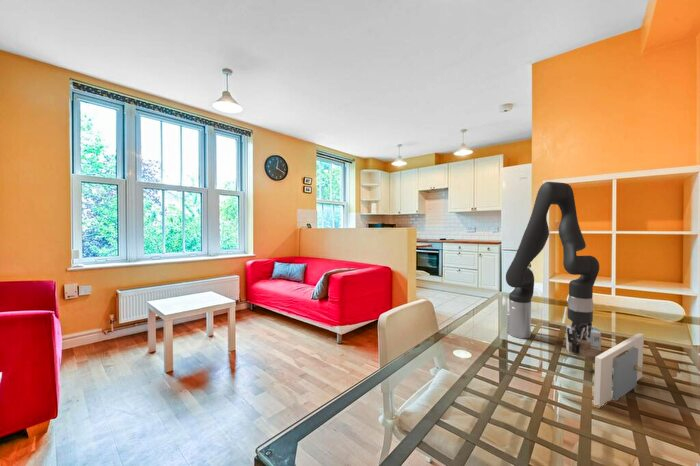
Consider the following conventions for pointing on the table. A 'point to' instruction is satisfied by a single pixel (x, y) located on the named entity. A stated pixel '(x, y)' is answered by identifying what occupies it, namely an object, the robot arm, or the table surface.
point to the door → (625, 373)
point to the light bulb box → (594, 338)
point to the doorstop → (588, 350)
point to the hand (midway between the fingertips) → (579, 350)
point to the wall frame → (606, 365)
